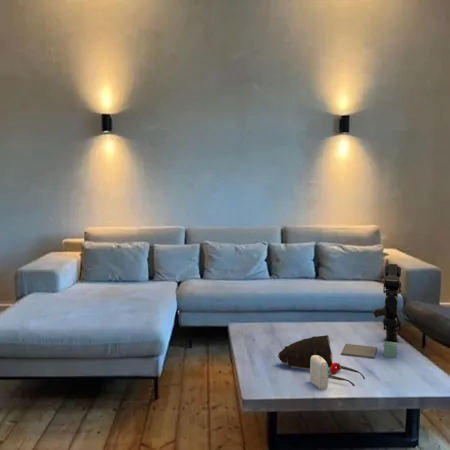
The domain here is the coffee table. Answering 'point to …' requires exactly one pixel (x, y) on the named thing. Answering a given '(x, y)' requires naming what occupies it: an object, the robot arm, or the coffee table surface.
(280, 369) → the coffee table surface
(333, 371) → the novelty glasses
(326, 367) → the photo printer
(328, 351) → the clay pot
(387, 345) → the cube
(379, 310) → the robot arm
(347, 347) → the mat
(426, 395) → the coffee table surface
